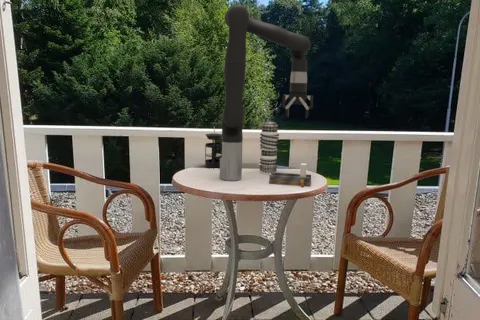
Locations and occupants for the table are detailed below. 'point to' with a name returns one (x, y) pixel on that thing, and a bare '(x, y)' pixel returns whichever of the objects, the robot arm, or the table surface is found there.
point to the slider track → (289, 179)
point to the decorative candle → (268, 148)
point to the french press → (213, 150)
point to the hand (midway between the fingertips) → (296, 117)
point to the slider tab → (303, 170)
